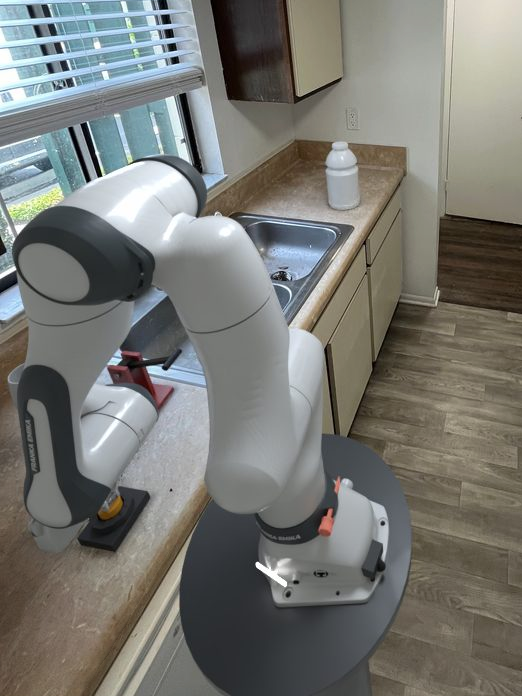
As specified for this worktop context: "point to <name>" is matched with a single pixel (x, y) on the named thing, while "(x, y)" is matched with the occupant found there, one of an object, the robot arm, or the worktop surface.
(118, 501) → the button
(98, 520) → the button box
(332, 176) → the bottle
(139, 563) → the worktop surface
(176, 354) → the lever
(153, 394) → the bracket
